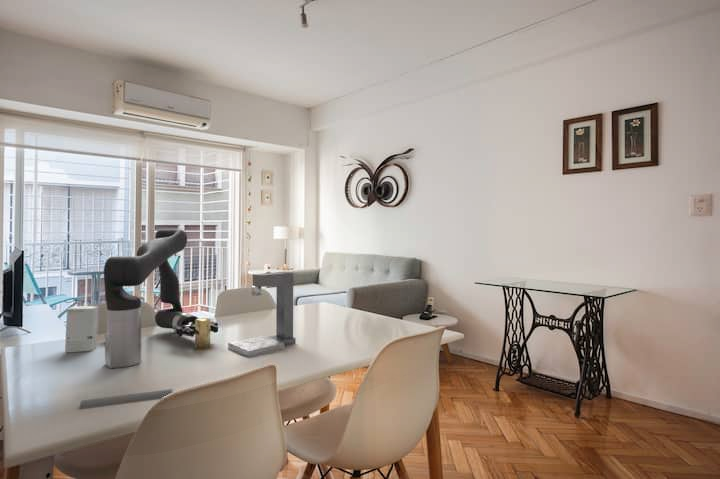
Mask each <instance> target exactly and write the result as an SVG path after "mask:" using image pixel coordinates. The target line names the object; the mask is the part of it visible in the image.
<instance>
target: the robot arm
mask: <svg viewBox="0 0 720 479" xmlns="http://www.w3.org/2000/svg"><path fill="white" fill-rule="evenodd" d="M187 244H188V235H187V233H186V232H185V230H183V229H182V228H160V229H158V230H157V231H156V234H155V238H154V239H151V240H148V241H147V242H145V243H143V244H142V245H140V246H139V248H138V249H137V251H136V256H125V255H123V256H111V257H109V258H107V259H106V260H105V263H104V267H103V280H104V281H103V282H104V284H103V285H104V296H105V297H104V299H105V303H106V333H105V334H104V362H105V365H106V366H107V367H108V368H109V369H114V368H125V367H131V366H135V365H138V364H140V363H141V362H142V300H141V298H140V297H138V296H136V295H133V294H131V293H128V291H126V290H125V289H124V287H136V286H140V285H142V284H143V283H144V282H145V281H146V280H147V279H148V277H149V276H151V274H152V273H153V272H154V271H155V270H156V269H157V268H158V273H159V284H160V285H159V286H160V287H159V288H160V289H159V293H160V295H159V301H160V302H161V303H163V304H170V305H171V307H172V308H165V309H164V308H163V309H159V310H158V311H157V312H156V314H155V315H154V321H155V324H156V325H157V326H158V327H160V329H171V330H173V332H174V334H175V335H177V337H182V336H183V335H184V336H186V337H195V320H196V319H200V318H199V317H198V316H196V315H193V314H190V313H187V312H184V310H183V307H182V305H181V300H180V281H179V278H178V276H177V274H176V273H175V271H174V269H173V268H172V267H171V266H172V265H171V264H170V263H169V259H170V258H172V257H173V256H174V255H175V254H177V253H179V252H182V251H184V250H185V248H186V246H187ZM218 331H219V323H218V322H217V321H213V320H210V332H213V333H218Z"/></svg>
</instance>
